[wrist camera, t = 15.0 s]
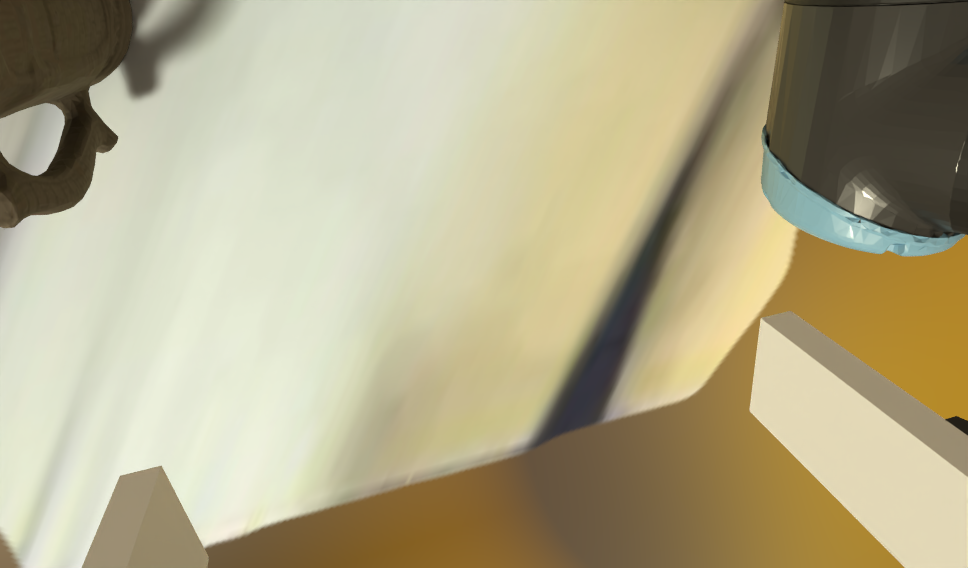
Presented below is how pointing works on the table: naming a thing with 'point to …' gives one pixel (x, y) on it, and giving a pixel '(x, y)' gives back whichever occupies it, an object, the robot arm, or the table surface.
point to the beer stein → (58, 92)
